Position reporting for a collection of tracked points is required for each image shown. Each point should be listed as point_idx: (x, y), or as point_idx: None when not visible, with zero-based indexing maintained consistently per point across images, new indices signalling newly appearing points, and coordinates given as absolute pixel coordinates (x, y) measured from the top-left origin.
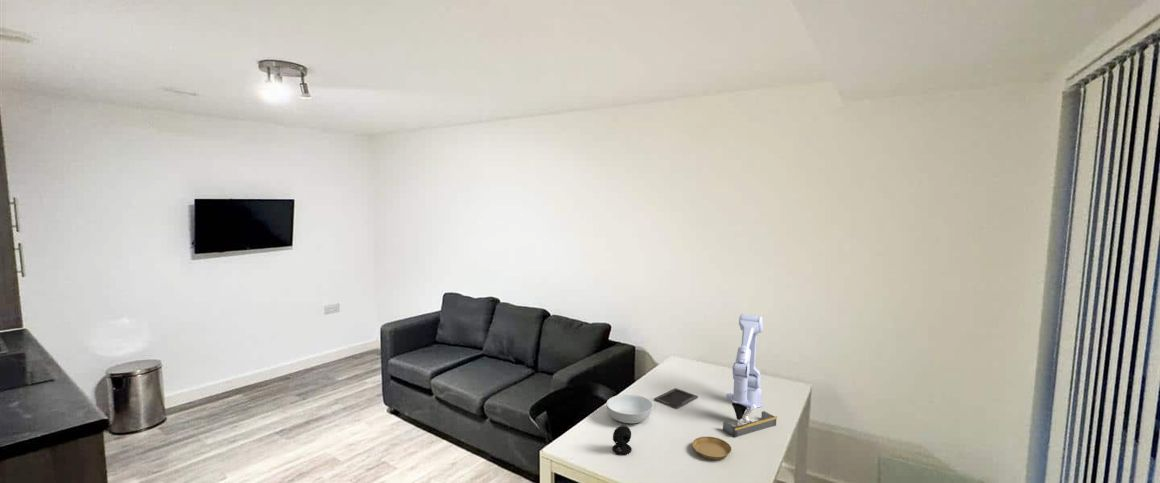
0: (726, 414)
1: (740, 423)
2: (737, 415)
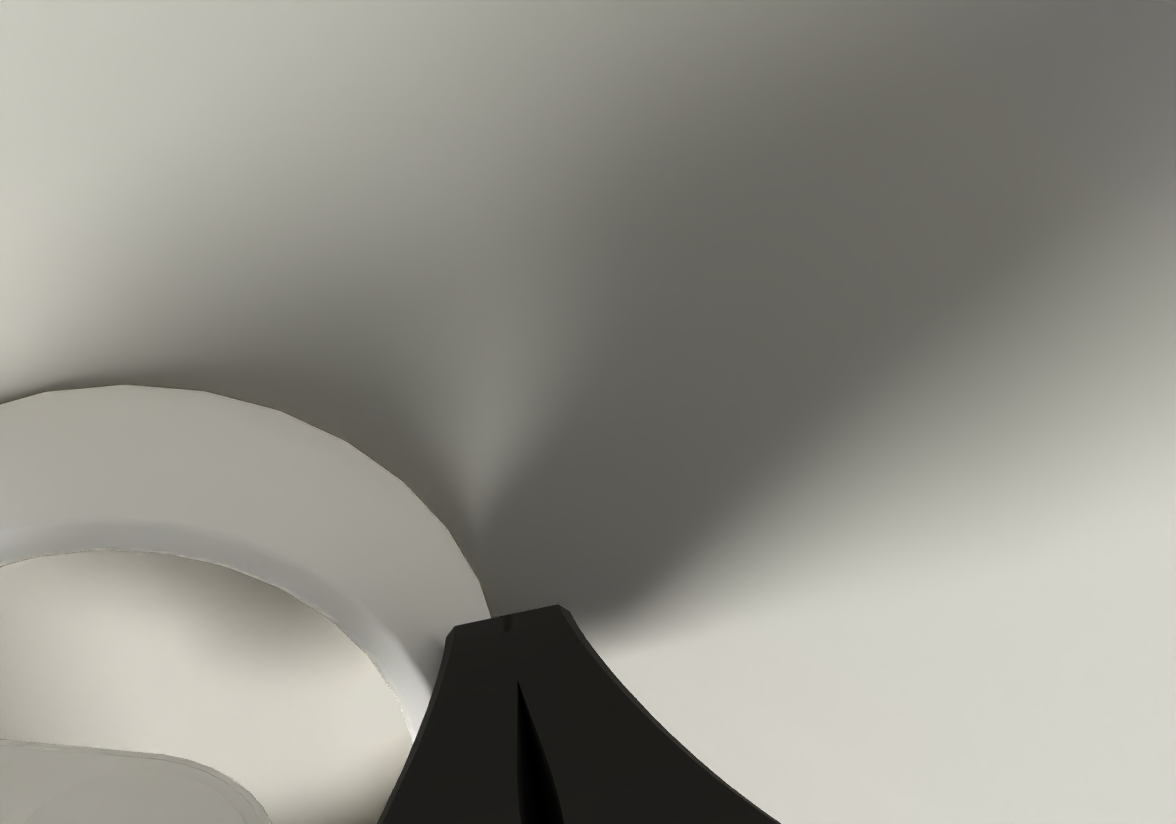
0: (1142, 490)
1: (59, 525)
2: (500, 712)
